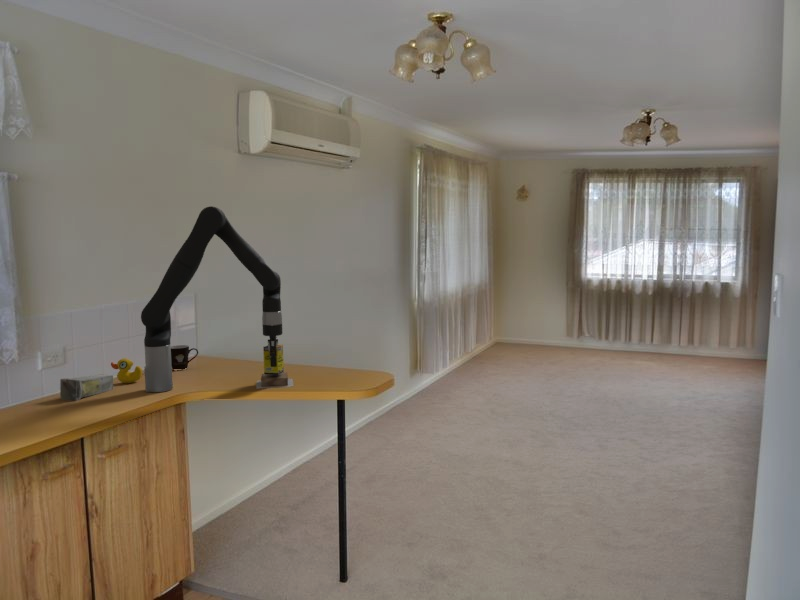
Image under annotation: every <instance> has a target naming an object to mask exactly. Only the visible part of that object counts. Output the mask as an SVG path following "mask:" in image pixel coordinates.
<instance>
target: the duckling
mask: <svg viewBox="0 0 800 600" xmlns="http://www.w3.org/2000/svg"><path fill="white" fill-rule="evenodd" d="M133 365H134V362H133V360H131V359H129V358H121V359H119V360H118V361H117V363H114V362H110V366H111V368H113V370H119V371H118V372H117V374H116V377H117V380H118V381H119V382H121V383H122V384H131V383H136V382H138V381H139V380H141V378H142V376H143V368H142V367H141V366H139V365H136V366H135V368H134V370H133V371H130V370H131V368H132V367H133Z"/></svg>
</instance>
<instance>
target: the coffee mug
mask: <svg viewBox="0 0 800 600" xmlns="http://www.w3.org/2000/svg"><path fill="white" fill-rule="evenodd" d="M193 350H194V351H196V354H195V356H194V357H192V358H190V359H189V356H190V353H191V351H193ZM198 355H199V351H198V349H197V348H195V347H194V348H193V347H192V348H190V345H188V344H187V345H186V344H180V345H179V344H178V345H171V364H172V369H185V368H187V367H188V366H189V363H190V362H191V361H193V360H194V359H195V358H196V357H197V356H198ZM188 368H189V367H188Z"/></svg>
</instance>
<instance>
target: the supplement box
mask: <svg viewBox="0 0 800 600" xmlns="http://www.w3.org/2000/svg"><path fill="white" fill-rule="evenodd" d="M262 348H263V349H262V351H263V374H266V375H279V374H280V373H285V372H284V345H283V344H278V347H276V349H278V350H277V351H276V354H277V356H276V364H277V366H276V367H271V361H270V352H269V348H268V345H266V346H265V345H264V346H263V347H262ZM271 353H275V351H273V352H271Z"/></svg>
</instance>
